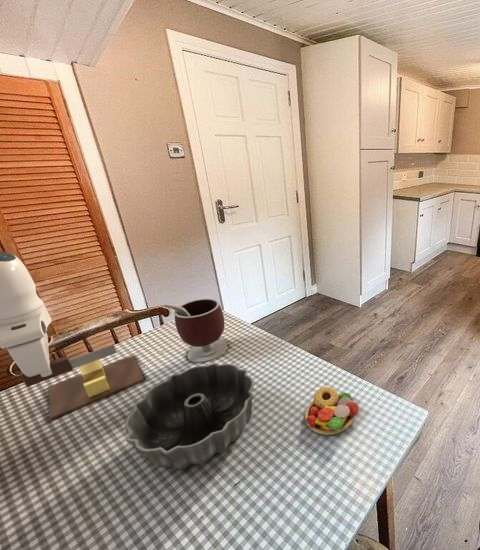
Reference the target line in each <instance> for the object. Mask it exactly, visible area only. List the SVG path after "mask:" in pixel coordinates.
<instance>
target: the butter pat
mask: <svg viewBox="0 0 480 550" xmlns="http://www.w3.org/2000/svg"><path fill="white" fill-rule="evenodd" d="M84 387H85V390H86V392H87V394H88V396H89V398H90V397H92V396H94V395H97V394H99V393H102V392H104V391H106V390H109V389H110V388H109V385H108V383H107V381H106V378H105V376H102V377H99V378H97V379H94V380H91V381H89V382H86V383H84Z"/></svg>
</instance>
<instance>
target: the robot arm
mask: <svg viewBox="0 0 480 550" xmlns="http://www.w3.org/2000/svg"><path fill="white" fill-rule="evenodd" d="M52 321H53V320H52V317H51V315H50V314H49V312H48V309H47V307H46V304H45V303H44V301H43V300H42V299H41V298H40V297H39V295H38V294H37V285H36V283H35V282H34V280H33V277H32V276H31V273H30V271H29V270H28V269H27V267H26V265H25V264H24V262H22V260H21V259H20V258H19V257H17V256H16V255H15V254H14V253H11V252H7V251H2V250H1V251H0V348H1V349H2V350H5V349H6V350H7V352H8V354H9V356H10V357H11V358H12V360H13V361H14V363H15V364H16V366H17V367H18V368H19V370H20V372H21V371H22V372H23V373H24V374H25V375H26V376H28V377H32V376H35V375H38V374H40V375H41V376H42V377H46V376H49V375H51V374H52V370H51V368H50V361H51V360H50V349H49V348H50V347H49V336H48V333H47V331H48V327H49V325H50V324H51V323H52Z"/></svg>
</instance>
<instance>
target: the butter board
mask: <svg viewBox="0 0 480 550" xmlns="http://www.w3.org/2000/svg"><path fill="white" fill-rule="evenodd" d="M79 369H80V374H79V375H77V376H74V377H71V378H68V379H66V380H62V381H60V382H58V383H55V384H51V385H50V386H48V399H49V402H48V403H49V415H50V416H49V418H50V420H51V421H52V420H55V419H57V418H59V417H62V416H65V415H67V414H69V413H72V412H74V411H77V410H78V409H81V408H83V407H86V406H88V405H90V404H93V403H95V402H98V401H100V400H103V399H105V398H107V397H110V396H111V395H114V394H117V393H119V392H121V391H123V390H126V389H128V388H131V387H133V386H135V385H137V384H140V383H142V382H144V381H145V379H144V376H143V375H142V373H141V370H140V368H139V366H138V364H137V361H136V360H135V358H134V355H131V356H128V357H124V358H122V359H120V360H117V361H114V362H112V363H109V364H106V365H103V364H102V362H101V359H99V360H96V361H93V362H90V363H88V364H85V365H82V366H79ZM102 376H105V378H106V381H107V383H108V385H109V388H110V389H109V390H106V391H104V392H102V393H99V394H97V395H94V396H92V397H90V398H89V396H88V394H87V392H86V390H85V387H84V383H86V382H89V381H91V380H94V379H97V378H99V377H102Z"/></svg>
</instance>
